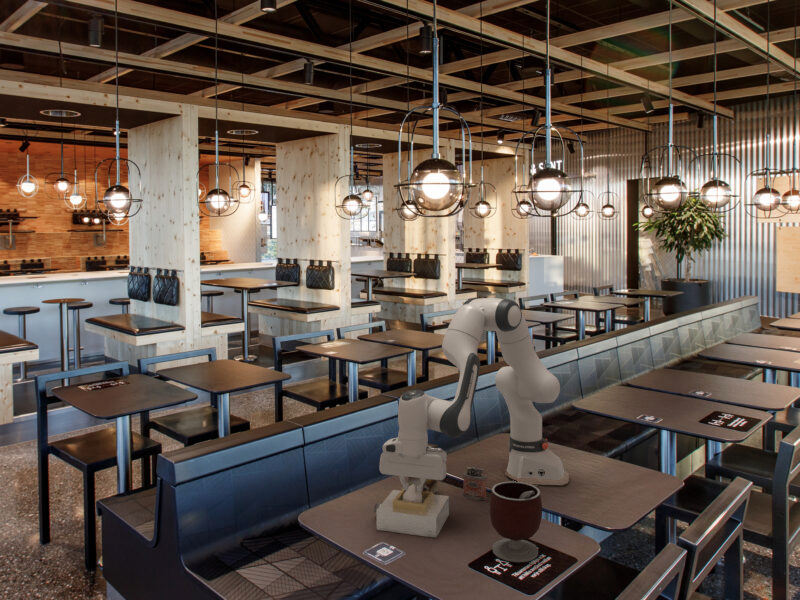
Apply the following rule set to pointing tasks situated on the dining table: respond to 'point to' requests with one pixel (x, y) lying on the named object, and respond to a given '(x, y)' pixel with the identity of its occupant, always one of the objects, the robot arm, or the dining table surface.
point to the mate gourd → (515, 519)
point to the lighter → (474, 483)
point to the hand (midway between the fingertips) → (412, 490)
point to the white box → (412, 514)
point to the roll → (412, 495)
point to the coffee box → (429, 483)
